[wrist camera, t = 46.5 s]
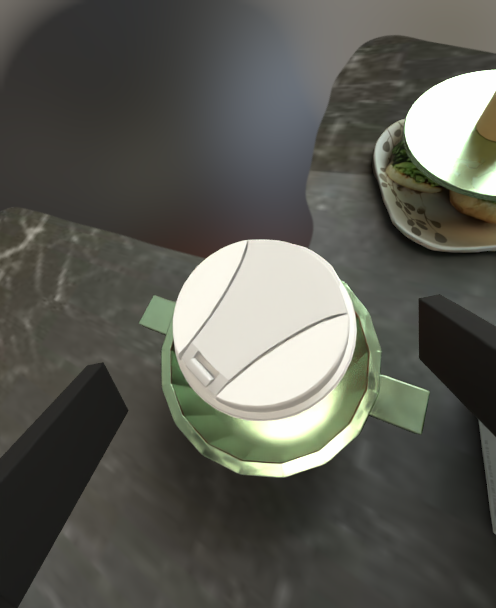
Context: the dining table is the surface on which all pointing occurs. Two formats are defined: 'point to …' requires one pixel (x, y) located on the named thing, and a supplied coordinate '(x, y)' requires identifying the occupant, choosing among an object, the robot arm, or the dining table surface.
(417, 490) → the dining table surface
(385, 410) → the pot
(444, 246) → the salad plate
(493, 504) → the tea box
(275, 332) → the paper cup
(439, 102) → the lid
